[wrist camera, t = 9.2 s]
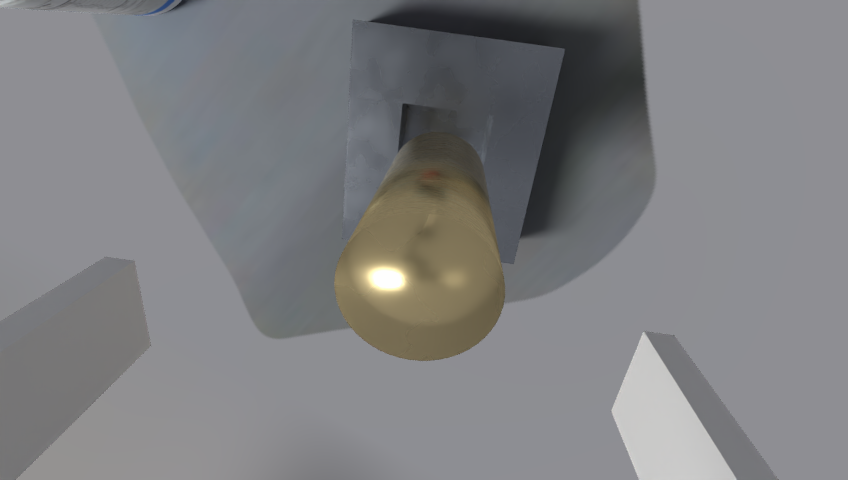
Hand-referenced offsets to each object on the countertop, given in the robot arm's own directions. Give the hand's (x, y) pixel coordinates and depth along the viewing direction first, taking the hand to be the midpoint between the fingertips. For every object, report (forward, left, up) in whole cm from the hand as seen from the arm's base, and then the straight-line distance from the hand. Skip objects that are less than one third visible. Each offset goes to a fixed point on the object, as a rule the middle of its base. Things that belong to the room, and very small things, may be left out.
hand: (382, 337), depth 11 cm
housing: (0, +1, -27) cm, 27 cm away
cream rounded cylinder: (0, +1, -16) cm, 16 cm away
